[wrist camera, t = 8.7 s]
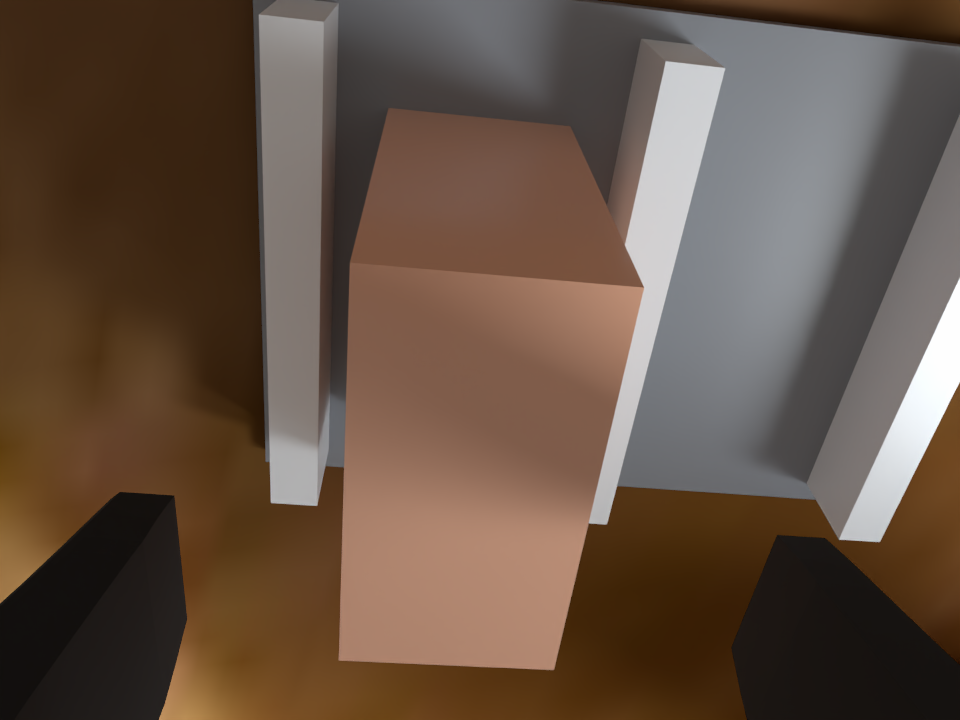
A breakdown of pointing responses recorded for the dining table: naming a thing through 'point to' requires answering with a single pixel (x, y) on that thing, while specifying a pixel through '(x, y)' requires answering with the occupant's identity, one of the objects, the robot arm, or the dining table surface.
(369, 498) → the terracotta flat plank
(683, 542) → the dining table surface
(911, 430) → the rack
